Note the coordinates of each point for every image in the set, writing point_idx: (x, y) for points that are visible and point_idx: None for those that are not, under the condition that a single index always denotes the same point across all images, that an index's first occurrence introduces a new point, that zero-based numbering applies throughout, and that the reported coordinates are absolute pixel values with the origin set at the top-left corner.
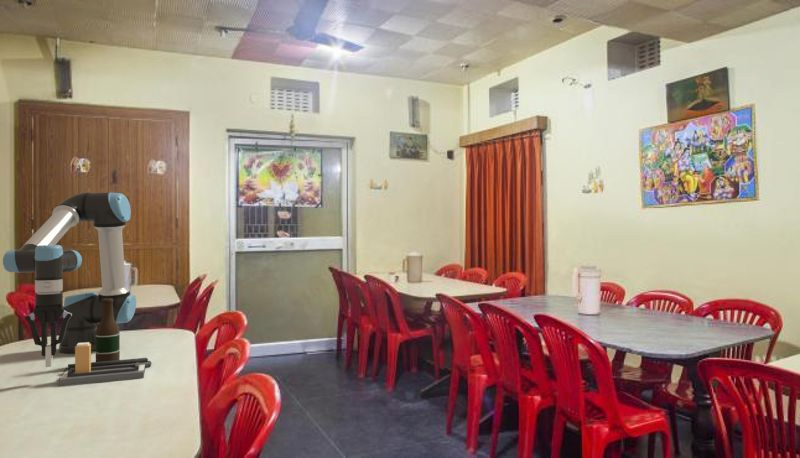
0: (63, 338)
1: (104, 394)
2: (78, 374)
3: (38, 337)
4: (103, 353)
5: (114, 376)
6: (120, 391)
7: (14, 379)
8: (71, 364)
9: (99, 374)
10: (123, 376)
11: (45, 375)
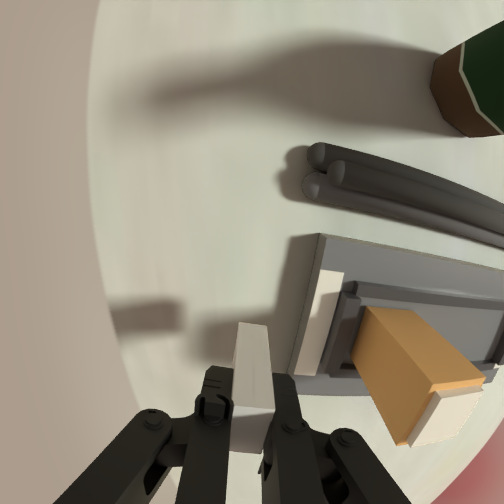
0: (369, 450)
1: None
2: (358, 376)
3: (143, 463)
4: (488, 120)
5: None
6: (399, 460)
7: (112, 161)
8: (358, 181)
9: None
10: None
11: (230, 147)
